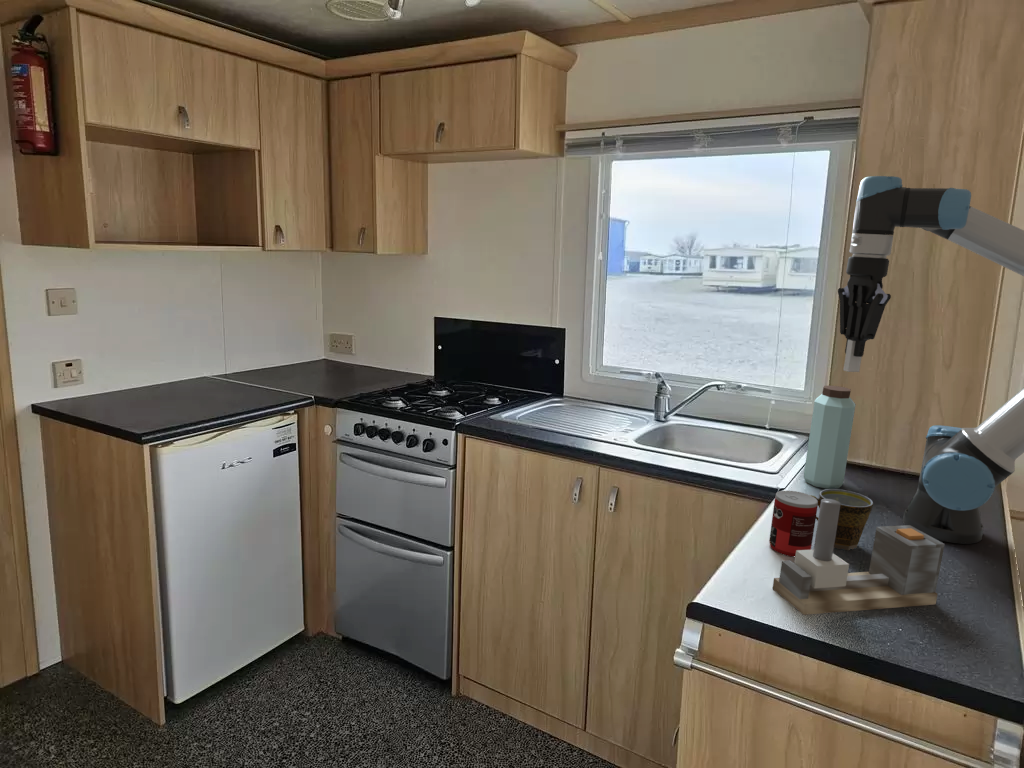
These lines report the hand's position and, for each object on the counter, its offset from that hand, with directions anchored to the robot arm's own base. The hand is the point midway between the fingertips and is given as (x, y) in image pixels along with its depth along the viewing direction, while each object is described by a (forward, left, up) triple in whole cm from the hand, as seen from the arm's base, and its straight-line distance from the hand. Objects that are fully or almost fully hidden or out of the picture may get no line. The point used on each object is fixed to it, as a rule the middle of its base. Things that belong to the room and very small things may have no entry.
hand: (851, 371), depth 150 cm
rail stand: (+16, +29, -34) cm, 48 cm away
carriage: (+23, +29, -31) cm, 48 cm away
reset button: (+6, +29, -26) cm, 39 cm away
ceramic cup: (+5, +8, -35) cm, 36 cm away
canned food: (+16, +10, -35) cm, 39 cm away
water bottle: (-17, -25, -35) cm, 46 cm away
